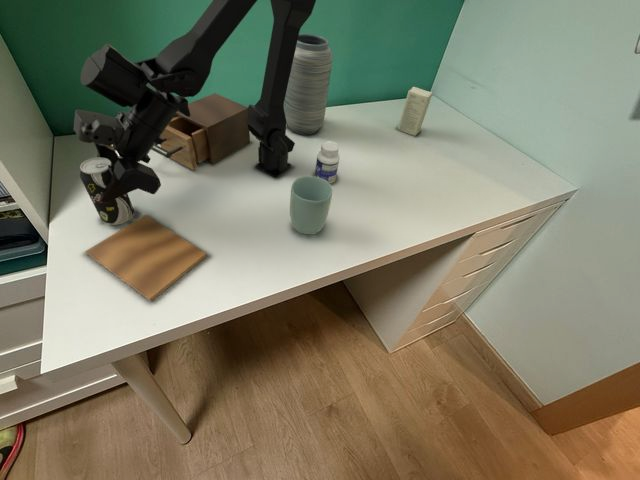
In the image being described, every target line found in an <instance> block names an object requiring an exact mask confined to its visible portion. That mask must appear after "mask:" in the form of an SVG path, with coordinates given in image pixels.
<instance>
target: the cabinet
mask: <svg viewBox="0 0 640 480" xmlns="http://www.w3.org/2000/svg"><path fill="white" fill-rule="evenodd" d="M248 107H249V106H246V105H243V104H241V103H239V102H237V101H234V100H232V99H229V98H227V97H225V96H223V95H220V94H218V93H216V92H215V93H212V94H209V95H206V96H204V97H201V98H199V99H197V100H194V101H192V102H188V108H189V111H190V114H191V115H190V117H187V116H185V115H184V114H182V113H181V112H179V111H177V113H176V114H175V116H174V117H173V118H175V117H178V116H179V117H181V118H183V119H185V120H187V121H189V122H191V123H193V124H195V125H197V126H199V127H201V128H204V129H206V136H207V143H208V150H209V158H208V159H206V160H204V161H205V162H207V163H209V164H211V165H215V164H216V163H218V162H220V161H222V160H224V159H225V158H227V157H228V156H230V155H232V154H234V153H235V152H237V151H238V150H240V149H242V148H243V147H246V146H247V145H249V144H250V143H251V132H250V131H249V129H248V124H247V123H246V122H245V121H246V119H247V117H248ZM173 118H172V119H173Z"/></svg>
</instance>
